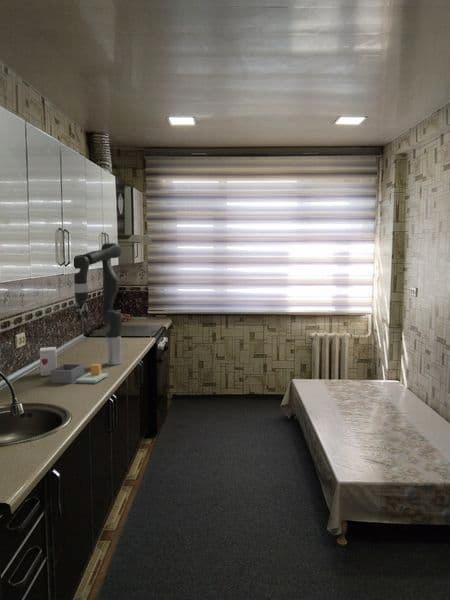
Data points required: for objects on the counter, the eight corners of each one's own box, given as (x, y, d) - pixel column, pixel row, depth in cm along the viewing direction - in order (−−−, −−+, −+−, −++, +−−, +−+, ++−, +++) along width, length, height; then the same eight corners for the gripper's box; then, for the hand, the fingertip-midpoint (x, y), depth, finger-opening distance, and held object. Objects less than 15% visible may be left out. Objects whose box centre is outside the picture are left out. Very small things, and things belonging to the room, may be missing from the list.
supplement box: (40, 376, 298) (38, 350, 296) (41, 372, 306) (40, 347, 305) (57, 374, 300) (55, 349, 299) (57, 371, 309) (56, 346, 307)
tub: (64, 375, 297) (64, 363, 296) (84, 376, 295) (83, 364, 294) (51, 382, 283) (50, 370, 282) (71, 383, 280) (71, 370, 280)
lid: (88, 376, 295) (88, 363, 295) (108, 377, 293) (107, 363, 292) (76, 383, 281) (75, 369, 280) (96, 384, 278) (95, 370, 278)
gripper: (80, 290, 301) (82, 317, 303) (69, 292, 288) (70, 321, 289) (92, 290, 300) (94, 317, 302) (81, 292, 286) (83, 321, 288)
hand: (82, 319), depth 296 cm, fingers open, 8 cm apart
